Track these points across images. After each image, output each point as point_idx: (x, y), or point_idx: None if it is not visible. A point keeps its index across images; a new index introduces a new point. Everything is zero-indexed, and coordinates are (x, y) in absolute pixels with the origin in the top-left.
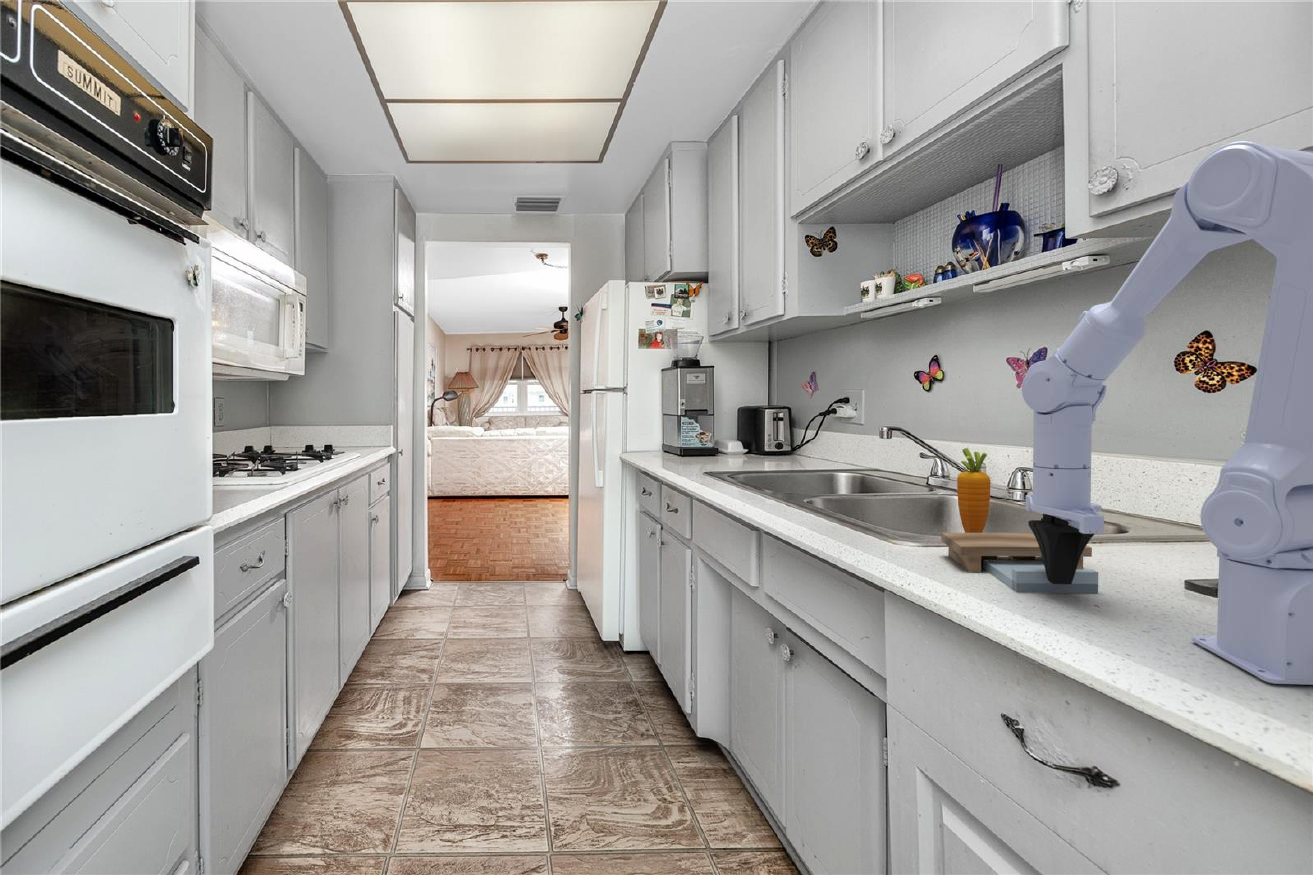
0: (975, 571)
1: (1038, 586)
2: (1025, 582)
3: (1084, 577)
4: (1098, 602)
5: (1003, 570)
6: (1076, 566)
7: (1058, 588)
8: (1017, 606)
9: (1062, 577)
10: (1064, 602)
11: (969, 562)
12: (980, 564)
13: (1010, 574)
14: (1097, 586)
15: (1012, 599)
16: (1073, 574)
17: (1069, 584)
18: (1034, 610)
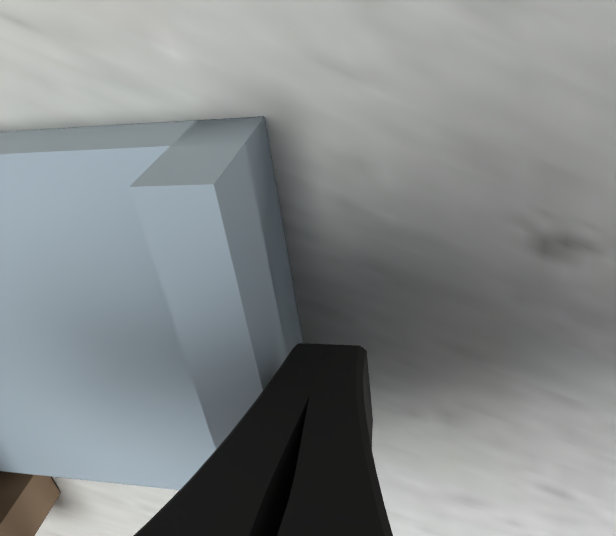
0: (48, 479)
1: None
2: None
3: (251, 257)
4: (482, 202)
5: (95, 466)
6: (369, 437)
7: (294, 337)
8: (547, 532)
9: (368, 424)
10: (484, 364)
11: (35, 531)
12: (22, 495)
13: (162, 470)
14: (251, 140)
15: (442, 511)
16: (362, 392)
17: (279, 305)
18: (612, 508)
